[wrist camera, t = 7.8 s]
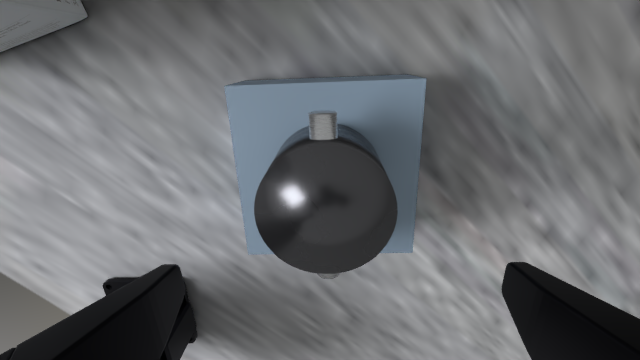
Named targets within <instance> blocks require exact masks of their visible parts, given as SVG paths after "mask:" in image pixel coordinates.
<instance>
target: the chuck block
mask: <svg viewBox="0 0 640 360" xmlns="http://www.w3.org/2000/svg"><path fill="white" fill-rule="evenodd" d="M224 87H225V94H226V101H227V108H228V115H229V122H230V129H231V136H232V143H233V150H234V157H235V164H236V171H237V178H238V185H239V192H240V199H241V206H242V213H243V220H244V227H245V234H246V242H247V249H248V254H274V253H273V252H272V251H271V250H270V249H269V248H268V246H267V245H266V244H265V242H264V241H263V239H262V237H261V235H260V233H259V231H258V228H257V226H256V221H255V217H254V202H255V196H256V192H257V189H258V187H259V184H260V182H261V180H262V179H263V177H264V175H265V174H266V172H267V170H268V168H269V167H270V165H271V163H272V161H273V160H274V158H275V156H276V155H277V153H278V151H279V149H280V148H281V146H282V145H283V143H284V142H285V141H286V140H287V139H288V138H289V137H290V136H291V135H293V134H294V133H295V132H297V131H298V130H300V129H302V128H304V127H307V126H309V116H308V113H309V112H313V111H322V110H330V111H336V112H337V124H341V125H344V126H348V127H350V128H352V129H354V130H356V131H357V132H359V133H361V134H362V135H363V136H364V137H365V138H366V139H367V140H368V141H369V142H370V143H371V144H372V146H373V147H374V149H375V150H376V152H377V154H378V156H379V159H380V161H381V163H382V165H383V167H384V169H385V171H386V174H387V176H388V178H389V180H390V182H391V184H392V187H393V189H394V192H395V195H396V200H397V209H398V214H397V222H396V225H395V229H394V232H393V234H392V236H391V238H390V240H389V241H388V243H387V245H386V246H385V247H384V248H383V250H382V251H381V252H380V253H412V252H413V240H414V227H415V215H416V202H417V190H418V177H419V165H420V152H421V140H422V127H423V115H424V102H425V90H426V78H422V77H418V76H413V75H409V74H405V75H379V76H352V77H326V78H300V79H273V80H247V81H241V82H238V83H234V84H230V85H226V86H224Z"/></svg>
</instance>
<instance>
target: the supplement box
mask: <svg viewBox="0 0 640 360" xmlns="http://www.w3.org/2000/svg"><path fill="white" fill-rule="evenodd" d="M86 17H87V13H86V11H85V9H84V7H83V5H82V3H81V1H80V0H0V52H2V51H5V50H7V49H10V48H12V47H15V46H18V45H20V44H23V43H25V42H28V41H30V40H33V39H36V38H38V37H41V36H43V35H46V34H48V33H51V32H54V31H56V30H59V29H61V28H64V27H66V26H69V25H71V24H74V23H76V22H78V21H81V20H83V19H85V18H86Z"/></svg>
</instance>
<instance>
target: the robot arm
mask: <svg viewBox="0 0 640 360" xmlns="http://www.w3.org/2000/svg"><path fill="white" fill-rule="evenodd" d="M103 288H104V291H105V294H106V296H105V297H103V298H102V299H100V300H98V301H96V302H94V303H93V304H91V305H89V306H87V307H85V308H84V309H82V310H80V311H78V312H76V313H75V314H73V315H71V316H69V317H67V318H66V319H64V320H62V321H60V322H58V323H57V324H55V325H53V326H51V327H49V328H48V329H46V330H44V331H42V332H40V333H39V334H37V335H35V336H33V337H31V338H30V339H28V340H26V341H24V342H22V343H21V344H19V345H17V347H16V348H11V349H9V350H8V351H6V352H4V353H3V354H1V355H0V360H180V358H181V356H182V354H183V352H184V350H185V348H186V346H187V345H188V343H193V342H195V340H196V338H197V333H196V323H195V319H194V315H193V310H192V306H191V304H190V302H189V299H188V295H187V290H186V286H185V283H184V281H183V278H182V274H181V270H180V267H179V266H178V265H176V264H164V265H161V266H159V267H158V268H156V269H154V270H152V271H150V272H149V273H147V274H145V275H143V276H141V277H140V278H127V279H108V280H107V281H105V282H104V283H103ZM502 294H503V297H504V300H505V302H506V304H507V307H508V309H509V311H510V313H511V316H512V318H513V320H514V323H515V325H516V327H517V329H518V332H519V334H520V336H521V339H522V341H523V343H524V345H525V347H526V349H527V352H528V353H529V355H530V357H531V359H532V360H640V319H639V318H637V317H635V316H633V315H631V314H629V313H627V312H625V311H622V310H620V309H618V308H616V307H614V306H612V305H610V304H608V303H606V302H604V301H602V300H600V299H598V298H596V297H594V296H592V295H590V294H588V293H586V292H584V291H582V290H580V289H578V288H576V287H574V286H572V285H570V284H568V283H566V282H564V281H562V280H560V279H558V278H556V277H554V276H552V275H550V274H548V273H546V272H544V271H542V270H540V269H538V268H536V267H534V266H532V265H530V264H528V263H526V262H510V263H508V264H507V266H506V269H505V274H504V279H503V283H502Z"/></svg>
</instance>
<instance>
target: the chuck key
mask: <svg viewBox="0 0 640 360" xmlns="http://www.w3.org/2000/svg"><path fill="white" fill-rule="evenodd" d="M308 116H309V126H307V127H304V128H302V129H300V130H298V131H297V132H295V133H294V134H293V135H291V136H290V137H289V138H288V139H287V140H286V141H285V142H284V143H283V145H282V146H281V148H280V149H279V151H278V153H277V155H276V156H275V158H274V160H273V161H272V163H271V165H270V167H269V168H268V170H267V172H266V174H265V175H264V177H263V179H262V180H261V182H260V184H259V187H258V189H257V192H256V196H255V202H254V217H255V221H256V226H257V228H258V231H259V233H260V235H261V237H262V239H263V241H264V242H265V244H266V245H267V246H268V248H269V249H270V250H271V251H272V252H273V253H274V254H275V255H276V256H277V257H279V258H280V259H281V260H283V261H284V262H286V263H288V264H289V265H291V266H293V267H296V268H298V269H301V270H304V271H308V272H312V273H317V274H318V276H320V277H321V278H324V279H332V278H335V277H337V276H338V275H339V274H340V273H341V272H346V271H349V270H353V269H355V268H358V267H360V266H362V265H364V264H366V263H367V262H369V261H370V260H372V259H373V258H374V257H376V256H377V255H378V254H379V253H380V252H381V251H382V250H383V248H384V247H385V246H386V245H387V243H388V241H389V240H390V238H391V236H392V234H393V232H394V229H395V225H396V222H397V214H398V209H397V200H396V195H395V192H394V189H393V187H392V184H391V182H390V180H389V178H388V176H387V174H386V171H385V169H384V167H383V165H382V163H381V161H380V159H379V156H378V154H377V152H376V150H375V149H374V147H373V146H372V144H371V143H370V142H369V141H368V140H367V139H366V138H365V137H364V136H363V135H362V134H361V133H359V132H357V131H356V130H354V129H352V128H350V127H348V126H344V125H341V124H337V112H336V111H330V110H322V111H313V112H309V113H308Z"/></svg>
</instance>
